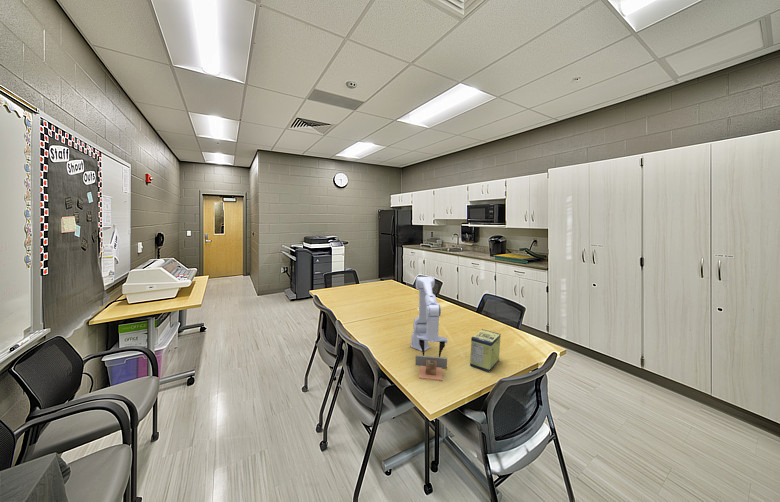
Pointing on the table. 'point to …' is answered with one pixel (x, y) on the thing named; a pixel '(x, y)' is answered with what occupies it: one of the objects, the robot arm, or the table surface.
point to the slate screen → (439, 360)
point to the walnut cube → (430, 367)
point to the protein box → (485, 350)
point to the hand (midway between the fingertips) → (431, 355)
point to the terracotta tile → (431, 377)
